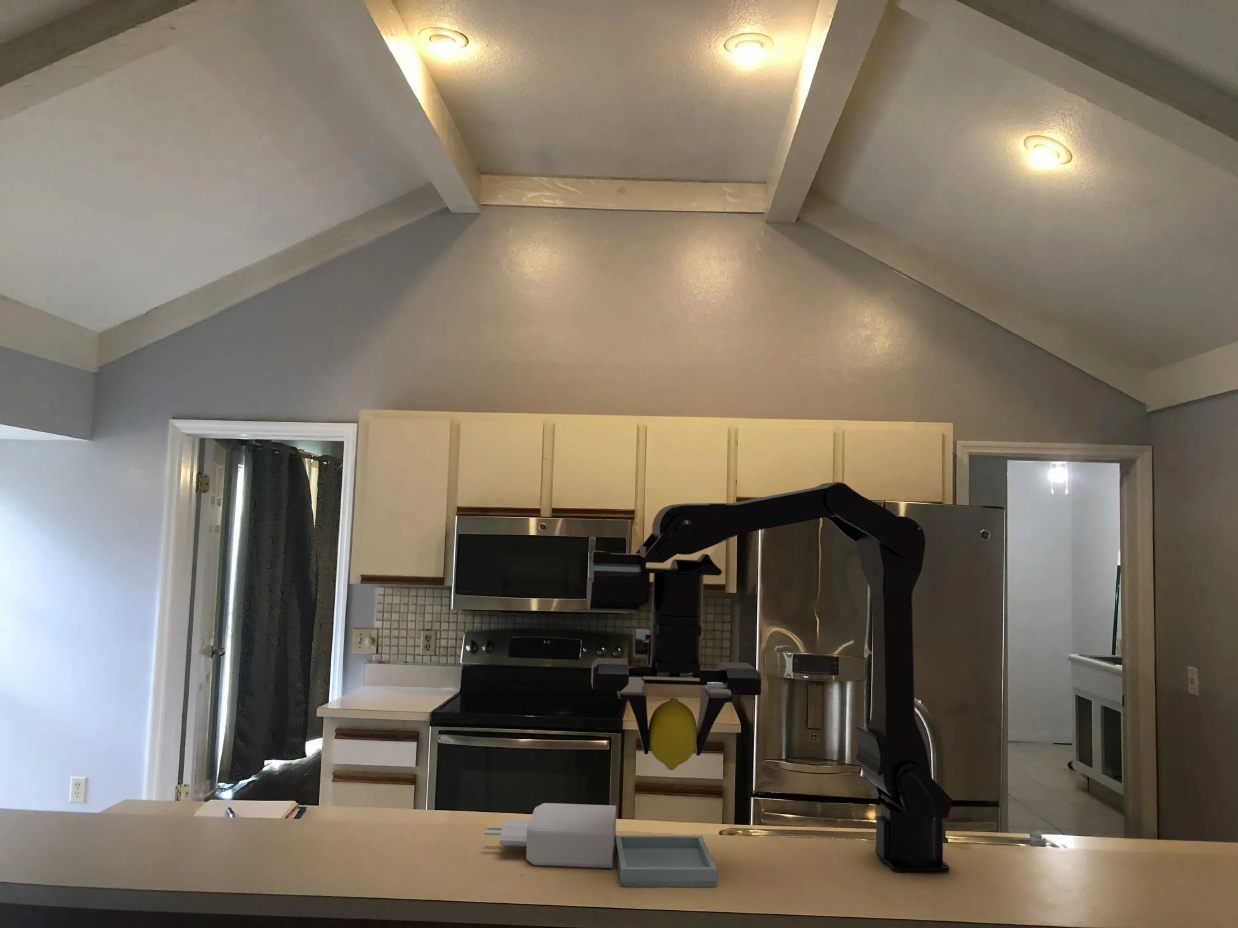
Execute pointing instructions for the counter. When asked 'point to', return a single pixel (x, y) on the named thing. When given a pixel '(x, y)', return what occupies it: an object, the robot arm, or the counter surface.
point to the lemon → (672, 733)
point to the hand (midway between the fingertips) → (671, 753)
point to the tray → (664, 861)
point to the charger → (564, 835)
